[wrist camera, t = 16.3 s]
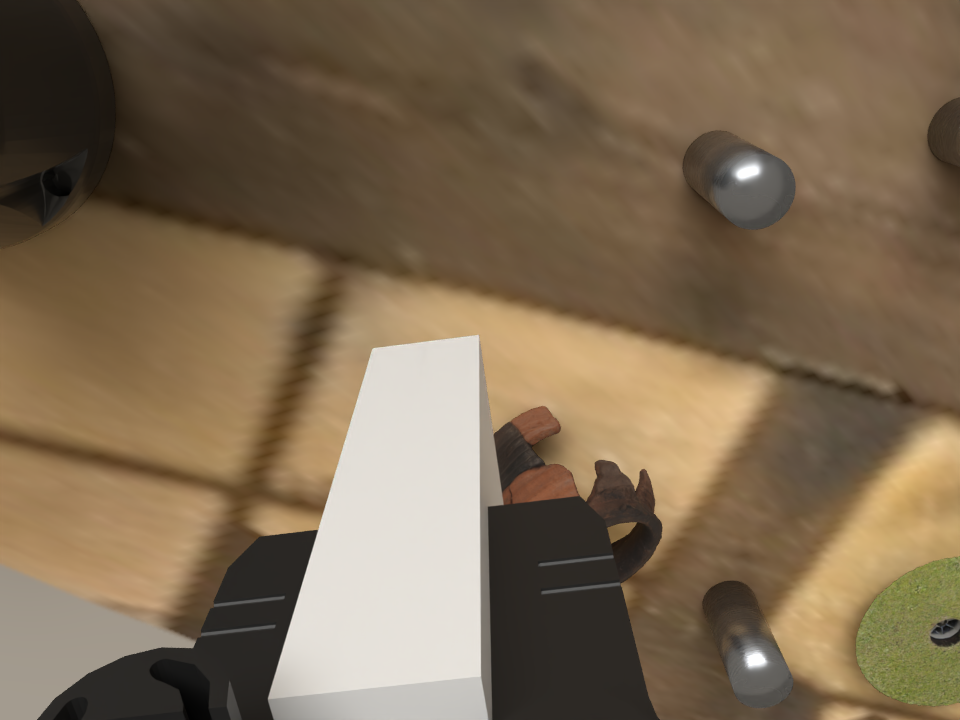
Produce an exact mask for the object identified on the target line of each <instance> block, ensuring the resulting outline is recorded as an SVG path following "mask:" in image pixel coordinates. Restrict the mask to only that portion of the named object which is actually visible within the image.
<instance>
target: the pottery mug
mask: <svg viewBox="0 0 960 720" xmlns="http://www.w3.org/2000/svg"><path fill="white" fill-rule="evenodd" d="M560 429H561V427H560V424H559V422H558V421H557V419H556V418H554V417H553V416H552V414H551V413H550V411H549V410H548V409H547V407H544V406H541V407H538V408H534V409H531V410H529V411H527V412H525V413H522V414H521V415H519V416H518V417H516V418H514V419H513V420H512V421H511V422H508V423H507V424H505V425H504V426H503V427H502V428H501V429H500V430H499V431H497V432H496V433H495V434H494V442H495V449H496V455H497V462H498V469H499V476H500V483H501V490H502V497H503V505H506V504H515V503H523V502H532V501H540V500H549V499H557V498H566V497H574V496H580V495H579V494H578V491H577V488H576V485H575V482H574V479H573V475H572V473H571V472H570V471H569V470H567V469H566V468H565V467H564V466H561V465H559V464H550V465H545V463H544V461H543V460H542V459H541V458H540V457H538V456H537V454H536V453H535V452H534V451H533V450H532V446H533V445H534V444H536V443H538V442H539V441H541V440H543V439H545V438H547V437H549V436H551V435H554V434H557V433H559V432H560ZM595 470H596V474H597V479H596V480H595V483H594V486H593V489H592V492H591V494H590V496H589V497H588V499H587V501H586V503H587V504H588V505H589V506H590V507H592V508H593V509H594V510H595V511H596V512H597V513H598V514H599V515H600V516H601V517H602V518H603V519H604V520H605V522H606V526H607V527H610V526H613V525H616V524H620V523H629V522H637V524H636V525H635V527H634V528H633V529H632V531H631V532H630V533H629V534H628V535H626V536H625V537H623V538H621V539H620V540H618V541H616V542H614V543H612V544H611V546H612V550H613V556H614V559H615V562H616V567H617V571H618V575H619V579H620V583H622V582H624V581H626V580H627V579H628V578H630V577H631V576H632V575H634V574H635V573H636V572H637V571H638V570H639V569H640V568H642V566H643V565H644V564H645V563H646V562H647V561H648V560H649V559H650V557H651V556H652V555H653V553H654V551H655V550H656V546H657V545H658V544H659V541H660V539H661V538H662V536H661V534H662V523H661V521H660V520H659V519H658V518H657V517H656V515H655V514H654V507H655V498H654V494H653V489H652V485H651V481H650V478H649V476H648V474H647V471H646V470H645V469H642V470H641V471H640V478H639V484H638V486H637V489H636V491H635V489H634V485H633V484H632V483H631V480H630V479H629V478H628V477H627V476H626V475H624V474H623V473H622V472H621V471H620V469H619V467H618V466H617V464H616V463H614V462H611V461H605V460H598V461H596V462H595Z"/></svg>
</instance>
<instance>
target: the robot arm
mask: <svg viewBox="0 0 960 720" xmlns="http://www.w3.org/2000/svg"><path fill="white" fill-rule="evenodd" d="M114 131H115V97H114V89H113V83H112V78H111V74H110V70H109V66H108V63H107V60H106V57H105V54H104V51H103V49H102V46H101V43H100V41H99V39H98V37H97V35H96V33H95V30H94V28H93V27H92V25H91V23H90V21H89V19H88V18H87V16H86V14H85V13H84V11H83V10H82V8H81V7H80V5H79V4H78V2H77V1H76V0H0V249H1V248H5V247H9V246H13V245H16V244H19V243H21V242H24V241H26V240H29V239H31V238H33V237H35V236H37V235H39V234H41V233H42V232H44V231H46V230H48V229H50V228H52V227H54V226H55V225H57V224H59V223H60V222H62V221H63V220H65V219H66V218H68V217H69V216H70V215H71V214H73V213H74V212H75V211H76V210H77V209H78V208H79V207H80V206H81V205H82V204H83V203H84V202H85V201H86V199H87V198H88V197H89V196H90V194H91V193H92V192H93V190H94V189H95V187H96V185H97V184H98V182H99V180H100V178H101V176H102V174H103V172H104V170H105V168H106V165H107V162H108V160H109V156H110V153H111V149H112V144H113V139H114ZM37 720H660V719H659V718H658V717H657V716H656V713H655V711H654V708H653V706H652V704H651V701H650V699H649V696H648V693H647V689H646V685H645V681H644V676H643V672H642V668H641V664H640V660H639V656H638V652H637V648H636V644H635V640H634V636H633V632H632V628H631V624H630V619H629V615H628V611H627V607H626V603H625V599H624V595H623V591H622V587H621V585H620V579H619V575H618V571H617V567H616V562H615V559H614V556H613V550H612V546H611V542H610V538H609V534H608V530H607V526H606V522H605V520H604V519H603V518H602V517H601V516H600V515H599V514H598V513H597V512H596V511H595V510H594V509H593V508H592V507H590V506H589V505H588V504H587V503H586V502H585V501H584V500H583V499H582V498H581V497H580V496H574V497H566V498H557V499H549V500H540V501H532V502H523V503H515V504H506V505H503V497H502V490H501V483H500V476H499V469H498V462H497V455H496V449H495V442H494V435H493V428H492V421H491V414H490V407H489V400H488V393H487V386H486V380H485V373H484V366H483V359H482V352H481V345H480V338H479V335H474V336H466V337H458V338H450V339H442V340H434V341H426V342H419V343H411V344H403V345H395V346H387V347H379V348H373V349H372V352H371V356H370V359H369V362H368V366H367V369H366V372H365V376H364V379H363V382H362V386H361V389H360V392H359V396H358V399H357V402H356V406H355V409H354V413H353V416H352V419H351V423H350V426H349V429H348V433H347V436H346V439H345V443H344V446H343V449H342V453H341V456H340V459H339V463H338V466H337V469H336V473H335V476H334V479H333V483H332V486H331V489H330V493H329V496H328V499H327V503H326V506H325V510H324V513H323V516H322V520H321V523H320V526H319V530H313V531H304V532H296V533H287V534H279V535H270V536H262V537H259V538H258V539H257V540H256V541H255V542H254V543H253V544H252V545H251V546H250V547H249V548H248V549H247V550H246V551H245V552H244V553H243V554H242V555H241V556H240V557H239V558H238V559H237V560H236V561H235V562H234V563H233V564H232V565H231V566H230V567H229V568H228V570H227V572H226V574H225V577H224V579H223V581H222V583H221V586H220V588H219V590H218V593H217V595H216V597H215V599H214V608H211V609H210V611H209V613H208V615H207V618H206V620H205V622H204V625H203V627H202V629H201V638H197V641H196V643H195V645H194V648H157V649H153V650H149V651H145V652H141V653H137V654H132V655H128V656H124V657H122V658H120V659H118V660H116V661H114V662H112V663H110V664H107V665H105V666H103V667H101V668H99V669H97V670H95V671H93V672H91V673H88V674H87V675H86V676H85V677H83V678H82V679H80V680H79V681H78V682H76V683H75V684H74V685H72V686H71V687H70V688H68V689H67V690H66V691H64V692H63V693H62V694H60V695H59V696H58V697H56V698H55V699H54V700H53V701H52V702H51V704H50V705H49V706H48V707H47V709H46V710H45V711H44V712H43V713H42V714H41V716H40V717H39V718H38V719H37Z"/></svg>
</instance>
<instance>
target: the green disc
mask: <svg viewBox="0 0 960 720" xmlns="http://www.w3.org/2000/svg"><path fill="white" fill-rule="evenodd" d="M856 657H857V662H858V665H859V667H861V670H862V674H865V678H866V679H867V680H868V681H869V683H871V684H872V686H873V687H874V688H876V689H877V690H879V692H882V693H883V694H884V695H886V696H888V697H890V696H891V698H892V699H896V700H898V701H901V702H904V703H908V704H917V705H918V706H920V705H925V706H941V705H951V704H955V703H960V556H959V557H957V558H956V557H954V558H946V559H941V560H938V561H933V562H931V563H928V564H926V565H924V566H922V567H918V568H916V569H915V570H913V571H910V572H908V573H906V574H905V575H903V576H902V577H901V578H899V579H898V580H897V581H894V582H893V583H892V584H891V585H890V586H889V587H888V588H886V589H885V590H884V592H882V593H881V594H879V595H877V598H876V599H875V600H874V602H873V603H872V604H871V606H870V607H869V609H868V611H867V612H866V614H865V616H864V617H863V619H862V622H861V624H860V628H859V630H858V633H857V637H856Z"/></svg>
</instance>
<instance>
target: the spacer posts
mask: <svg viewBox="0 0 960 720" xmlns="http://www.w3.org/2000/svg"><path fill="white" fill-rule="evenodd" d="M928 143H929V147H930V149H931V151H932V152H933V154H934V155H935V156H936V157H937V158H939V159H940V160H942V161H945V162H947V163H950V164H953V165H956V166H959V167H960V97H959V98H956V99H954V100H951V101H950V102H948V103H946V104H945V105H944V106H943V107H942V108H940V109H939V111H938V112H937V113H936V114H935V116H934V117H933V119H932V121H931V123H930V126H929V130H928ZM683 172H684V176H685V178H686V181H687V182H688V184H689V185H690V186H691V187H692V188H693V189H694V190H695V191H696V192H697V193H698V194H700V195H701V196H702V197H703V198H704V199H705V200H706V201H708V202H709V203H710V204H711V205H712V206H713V207H714V208H715V209H717V210H718V211H719V212H720V213H721V214H722V215H723V216H725V217H726V218H727V219H728V220H729V221H730V222H732V223H733V224H734V225H736V226H738V227H741V228H744V229H751V230H754V229H762V228H765V227H768V226H770V225H772V224H774V223H776V222H777V221H778V220H780V219H781V218H782V217H783V216H784V215H785V214H786V212H787V211H788V210H789V208H790V206H791V204H792V202H793V199H794V195H795V179H794V176H793V173H792V171H791V169H790V168H789V167H788V165H787V164H786V163H785V162H784V161H782V160H781V159H779V158H777V157H775V156H773V155H772V154H770V153H768V152H766V151H764V150H762V149H760V148H758V147H756V146H754V145H753V144H751V143H749V142H747V141H745V140H743V139H741V138H739V137H737V136H736V135H734V134H732V133H729V132H726V131H711V132H708V133H705V134H703V135H701V136H700V137H698V138H697V139H696V140H695V141H694V142H693V143H692V144H691V145H690V146H689V148H688V150H687V152H686V154H685V157H684V161H683ZM703 609H704V612H705V615H706V618H707V620H708V623H709V626H710V629H711V631H712V634H713V637H714V639H715V642H716V645H717V647H718V650H719V653H720V656H721V658H722V661H723V664H724V666H725V669H726V672H727V674H728V677H729V680H730V683H731V685H732V688H733V691H734V693H735V696H736V697H737V699H738V700H739V701H740V702H741V703H743V704H744V705H746V706H749V707H753V708H766V707H771V706H774V705H776V704H778V703H780V702H781V701H783V700H784V699H785V698H786V697H787V696H788V695H789V693H790V692H791V690H792V687H793V678H792V675H791V673H790V671H789V668H788V666H787V664H786V662H785V660H784V658H783V656H782V653H781V651H780V649H779V647H778V645H777V643H776V640H775V638H774V636H773V634H772V632H771V630H770V628H769V625H768V623H767V621H766V619H765V617H764V615H763V613H762V610H761V608H760V606H759V604H758V602H757V600H756V597H755V595H754V593H753V591H752V590H751V588H750V587H748V586H747V585H746V584H744V583H741V582H738V581H726V582H722V583H719V584H717V585H715V586H713V587H712V588H711V589H710V590H709V591H708V592H707V593H706V595H705V597H704V599H703Z"/></svg>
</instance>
